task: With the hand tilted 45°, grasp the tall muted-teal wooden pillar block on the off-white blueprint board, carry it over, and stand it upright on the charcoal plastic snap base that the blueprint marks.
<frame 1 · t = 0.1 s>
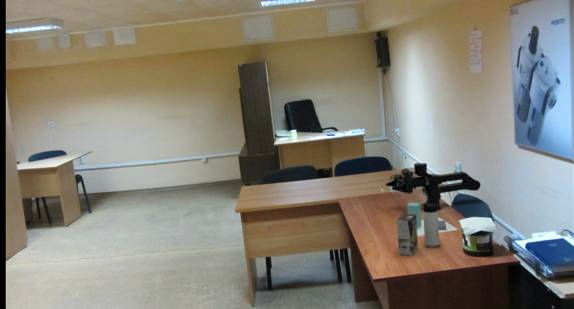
hand: (388, 186, 256), 17 cm above the table, tool horizontal, fingers open, 9 cm apart
teal pillar block: (414, 227, 235), point 1 cm above the table, touching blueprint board
coffee box: (408, 251, 209), on the table
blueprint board: (427, 228, 233), on the table
travel mug: (431, 245, 212), on the table
snap base: (437, 227, 231), resting on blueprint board
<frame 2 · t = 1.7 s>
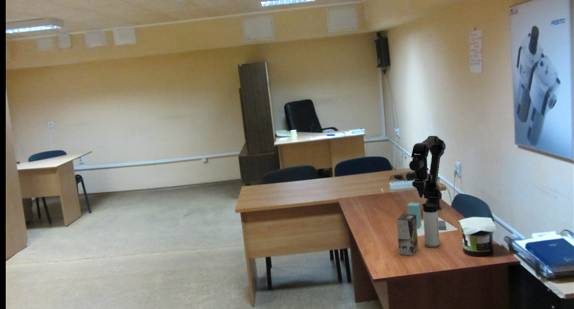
hand: (423, 195, 248), 12 cm above the table, tool pointing down, fingers open, 9 cm apart
nothing on the table moved.
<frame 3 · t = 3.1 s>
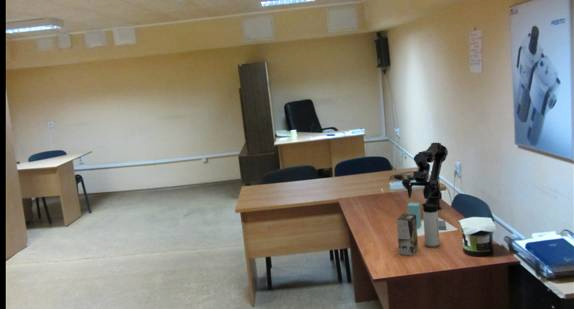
hand: (418, 198, 238), 14 cm above the table, tool tilted 45°, fingers open, 9 cm apart
nothing on the table moved.
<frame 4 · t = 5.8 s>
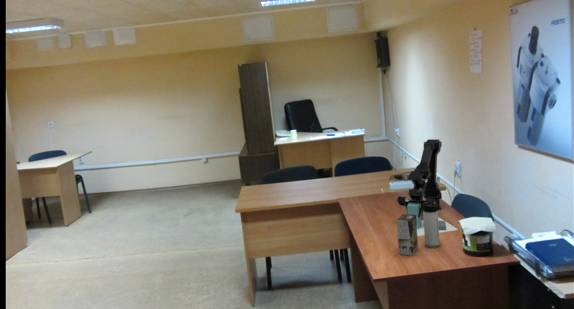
hand: (413, 217, 232), 7 cm above the table, tool tilted 45°, fingers closed on teal pillar block, 5 cm apart
teal pillar block: (414, 227, 235), point 1 cm above the table, touching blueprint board, gripper
everything else where it was.
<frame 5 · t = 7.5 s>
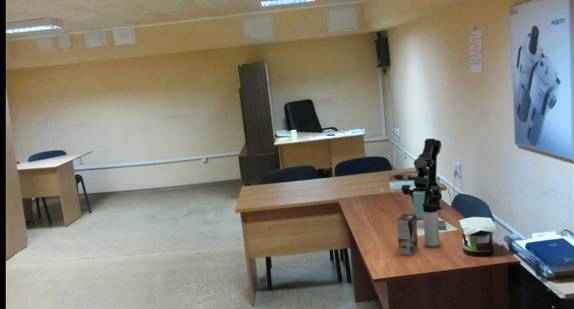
hand: (419, 205, 230), 13 cm above the table, tool tilted 45°, fingers closed on teal pillar block, 5 cm apart
teal pillar block: (420, 215, 232), point 7 cm above the table, touching gripper
everything else where it was.
when the fingers open (9 cm above the table, at t = 9.3 s): teal pillar block stays where it is, resting on snap base.
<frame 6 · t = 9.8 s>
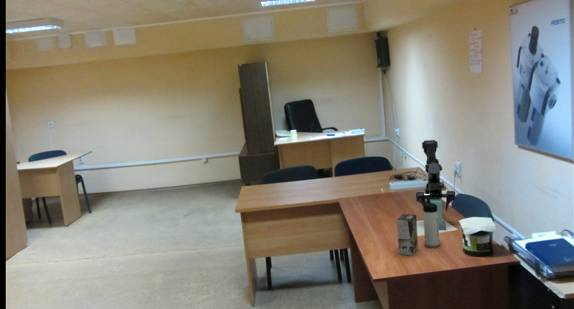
hand: (436, 211, 228), 10 cm above the table, tool tilted 45°, fingers open, 9 cm apart
teal pillar block: (437, 223, 231), point 3 cm above the table, touching snap base
everything else where it was.
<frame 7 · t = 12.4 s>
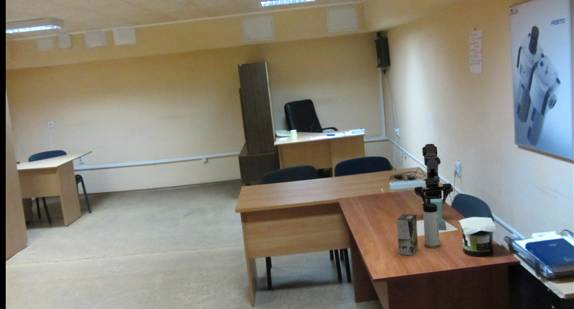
hand: (434, 204, 237), 10 cm above the table, tool tilted 40°, fingers open, 9 cm apart
nothing on the table moved.
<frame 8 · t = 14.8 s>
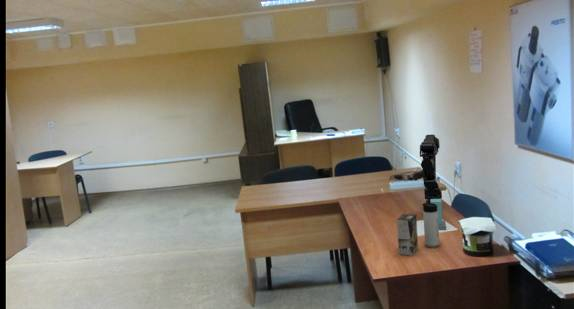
hand: (430, 194, 245), 13 cm above the table, tool pointing down, fingers open, 9 cm apart
nothing on the table moved.
at the end: teal pillar block 0.0 cm from the target spot, point 2.8 cm above the table; teal pillar block tilted 0°; the gripper is holding nothing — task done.
